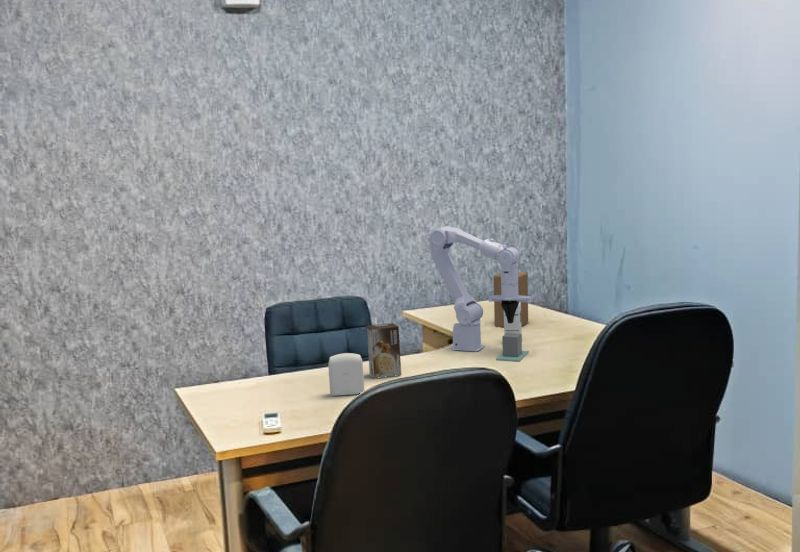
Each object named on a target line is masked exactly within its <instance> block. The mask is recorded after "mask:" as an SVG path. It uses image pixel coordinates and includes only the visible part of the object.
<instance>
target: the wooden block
mask: <svg viewBox="0 0 800 552" xmlns="http://www.w3.org/2000/svg"><path fill="white" fill-rule="evenodd" d="M528 274H529V273H527V272H519V271H518V295H522V296H529V287H528V286H529V284H528V283H529V280H528V278H529V277H528ZM493 295H501V272H500V273H497V274H495V275H493ZM493 303H494V305H493V308H494V309H493V310H494V311H493V312H494V317H493V319H494V326H495V327H497V328H504V310H503V308H502V306H501V304H502V302H498V301H493ZM528 324H529V303H527V302H521V327H523V326H526V325H528Z"/></svg>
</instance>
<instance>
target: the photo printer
mask: <svg viewBox="0 0 800 552" xmlns="http://www.w3.org/2000/svg"><path fill="white" fill-rule="evenodd" d="M363 363H364V362H363V358H362V356H361V355H360V354H357V353H352V352H351V353H350V352H344V353H339V354H338V353H337V354H335V355H331V356H330V357H329V360H328V365H327V366H328V380H329V394H330V396H332V397H337V396H349V395H360V394H359V393H361V392H363V391H364V392H365V382H364V381H365V380H364V365H363Z"/></svg>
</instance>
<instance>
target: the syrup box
mask: <svg viewBox="0 0 800 552" xmlns="http://www.w3.org/2000/svg"><path fill="white" fill-rule="evenodd" d="M522 327H523V326H522ZM522 327H521V302H519V305H518V307H517V309H516V312H515V315H514V321H513V323H508V321H507V317H506V314H505V312H504V327H503V328H504V329H503V331H504V333H503V336H504V335H505V334H506V333H516V334H522V335H523V331H522V329H523V328H522Z"/></svg>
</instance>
